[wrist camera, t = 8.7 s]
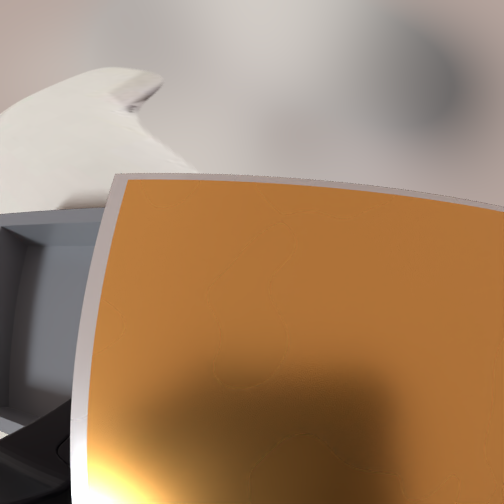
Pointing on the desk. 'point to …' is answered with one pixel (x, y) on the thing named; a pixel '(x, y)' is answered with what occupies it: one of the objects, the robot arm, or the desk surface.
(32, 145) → the desk surface
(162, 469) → the block
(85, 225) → the case
